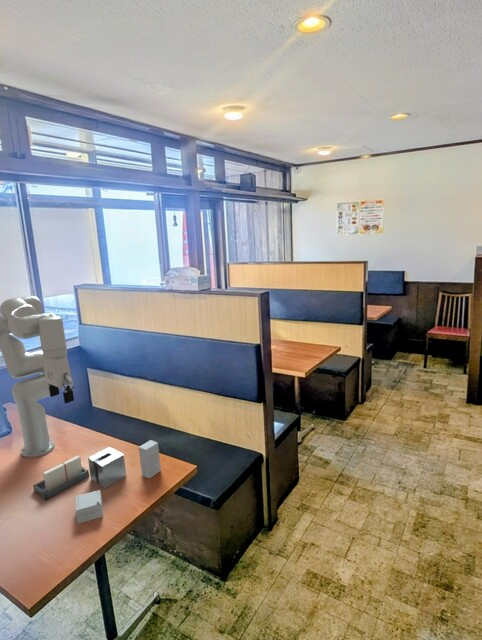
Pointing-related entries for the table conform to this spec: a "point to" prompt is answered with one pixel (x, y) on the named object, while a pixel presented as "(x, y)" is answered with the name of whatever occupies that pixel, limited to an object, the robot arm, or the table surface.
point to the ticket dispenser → (107, 467)
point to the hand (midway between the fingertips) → (62, 398)
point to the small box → (89, 506)
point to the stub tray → (46, 495)
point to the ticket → (62, 473)
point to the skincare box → (149, 459)
